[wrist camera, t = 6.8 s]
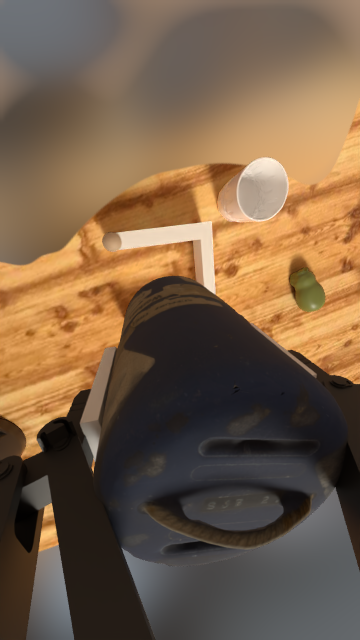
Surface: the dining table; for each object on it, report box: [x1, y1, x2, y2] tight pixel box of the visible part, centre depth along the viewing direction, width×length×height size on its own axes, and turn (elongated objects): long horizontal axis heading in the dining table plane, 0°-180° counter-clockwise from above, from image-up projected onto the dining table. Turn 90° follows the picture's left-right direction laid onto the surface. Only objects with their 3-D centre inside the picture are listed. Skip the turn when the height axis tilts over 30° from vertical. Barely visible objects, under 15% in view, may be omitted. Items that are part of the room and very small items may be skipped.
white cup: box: [217, 157, 288, 222], centre depth 34 cm, size 8×8×10 cm
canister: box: [93, 276, 349, 566], centre depth 14 cm, size 10×10×18 cm
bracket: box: [102, 221, 215, 294], centre depth 39 cm, size 17×18×6 cm
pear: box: [290, 267, 325, 312], centre depth 46 cm, size 6×5×10 cm
